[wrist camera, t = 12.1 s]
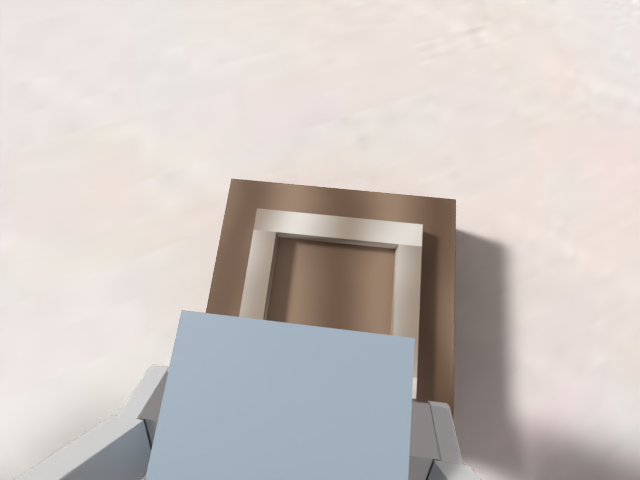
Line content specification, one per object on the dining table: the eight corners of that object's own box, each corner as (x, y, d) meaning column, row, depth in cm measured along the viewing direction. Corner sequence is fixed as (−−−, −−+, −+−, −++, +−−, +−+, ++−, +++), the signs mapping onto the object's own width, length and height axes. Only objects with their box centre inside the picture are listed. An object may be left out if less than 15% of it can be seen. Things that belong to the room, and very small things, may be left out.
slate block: (228, 464, 14) (121, 590, 7) (251, 327, 15) (181, 309, 8) (362, 483, 14) (400, 635, 6) (373, 342, 15) (414, 338, 8)
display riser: (210, 406, 27) (177, 423, 21) (246, 204, 32) (227, 171, 26) (430, 434, 27) (459, 459, 21) (436, 222, 31) (461, 192, 25)
